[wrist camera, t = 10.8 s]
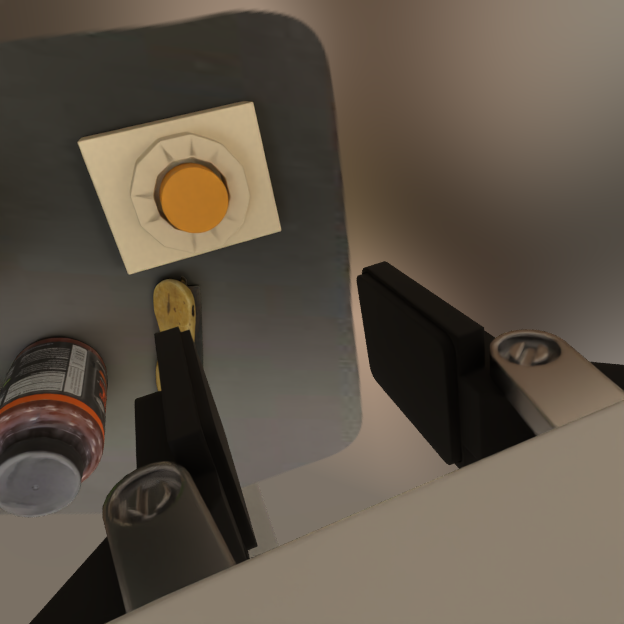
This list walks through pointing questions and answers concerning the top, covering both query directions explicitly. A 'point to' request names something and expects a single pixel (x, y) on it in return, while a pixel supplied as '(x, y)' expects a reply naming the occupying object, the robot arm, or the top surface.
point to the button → (193, 198)
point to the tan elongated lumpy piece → (179, 311)
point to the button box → (160, 160)
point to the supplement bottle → (50, 425)
